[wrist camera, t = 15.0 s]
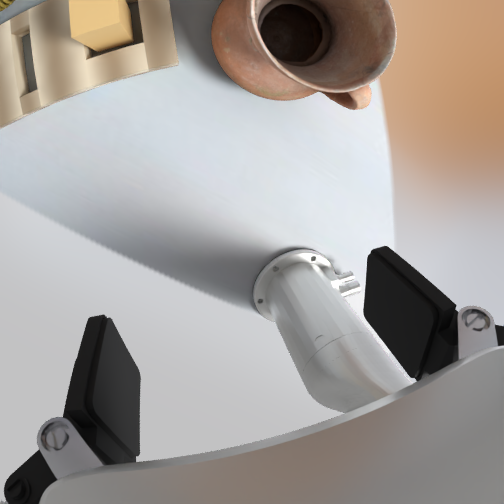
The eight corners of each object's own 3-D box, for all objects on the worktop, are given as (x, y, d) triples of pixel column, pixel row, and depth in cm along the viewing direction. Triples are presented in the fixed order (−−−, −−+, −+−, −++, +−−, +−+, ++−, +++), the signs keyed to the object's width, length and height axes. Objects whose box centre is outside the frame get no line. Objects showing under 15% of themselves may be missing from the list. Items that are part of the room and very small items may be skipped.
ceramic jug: (173, 21, 25) (176, -24, 13) (277, -38, 23) (334, -88, 11) (272, 138, 34) (328, 167, 22) (359, 75, 33) (441, 80, 21)
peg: (130, 11, 23) (116, -19, 15) (134, 42, 25) (119, 22, 17) (95, 21, 23) (68, -3, 14) (98, 52, 25) (71, 37, 16)
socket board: (164, -27, 22) (163, -37, 19) (178, 65, 28) (178, 62, 25) (-11, 41, 19) (-23, 39, 16) (2, 127, 25) (-10, 131, 22)
